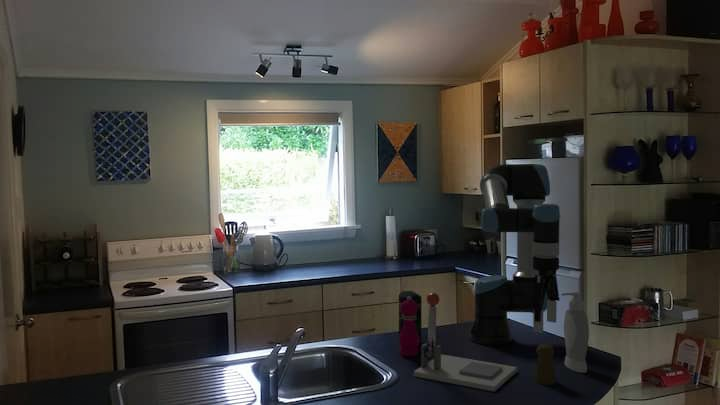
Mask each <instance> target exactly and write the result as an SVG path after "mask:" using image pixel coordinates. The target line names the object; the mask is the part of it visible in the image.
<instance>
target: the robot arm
mask: <svg viewBox="0 0 720 405" xmlns="http://www.w3.org/2000/svg"><path fill="white" fill-rule="evenodd" d="M479 188H480V192H481V194H482V195H483V197H484V203H485V208H482V210H481V214H480V216H481V218H480V220H481V222H480V223H481V225H480V226H481V230H482V231H483V232H484V233H485V232H486V233H516V270H515V272H514V273H513V274H512V279H508V277H507V276H506V275H498V274H497V275H496V274H495V275H494V274H493V275H487V276H483V277H479V278H477V280H476V281H475V282H474V291H473V293H474V319H473V322H472V325H471V328H470V330H469V340H470V341H472V342H474V343H477V344H481V345H487V346H488V345H490V346H501V345H506V344H509V343H511V342H512V337H513V336H512V332H511V329H510V326H509V323H508V313H532V314H533V315H532V316H533V320H532V321H533V323H532V324H533V326H532V328H533V330H532V332H533V333H540V334H543V333H544V312H546V322H548V323H557V308H558V307H557V304H558V303H557V301H560V294H559V288H558V280H557V279H558V278H557V271H558V270H559V269H560V258H559V255H560V219H561V214H560V206H559V205H558V204H555V203H545V202H546V197H548V196H549V195H551V184H550V177H549V172H548V169H547V167H546V166H545V165H544V164H540V163H514V164H513V163H512V164H511V163H510V164H509V163H504V164H499V165H496V166H493V167H491V168H490V169H488V170H487V171H486V172H485V173H484V174H483V176H482V177H481V179H480V182H479ZM508 196H509V197H511V196H512V202H513V203H514V204H515V205H516V207H514V208H513V207H510V204H509V203H510V202H509V200H508Z"/></svg>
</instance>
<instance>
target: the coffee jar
mask: <svg viewBox="0 0 720 405" xmlns="http://www.w3.org/2000/svg"><path fill="white" fill-rule="evenodd" d="M408 296H411V297H412V301H414V302H416V303H417V305H418V311H417V312H416V315H417V316H416V319H415V327H416V330H417V332H418V335H419V338H420V343H419V345H420V344H421V343H422V306H423V305H422V302H423V301H422V296H421V295H420V294H418V293H417V292H414V290H403V291H402V292H400V293H399V294H398V338H399V337H400V334H401V332H402V329H403V319H402V314H403V313H402V312H401V309H400V308H401V304H402V303H403V302H404V301H407V297H408Z"/></svg>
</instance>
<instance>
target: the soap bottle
mask: <svg viewBox="0 0 720 405" xmlns="http://www.w3.org/2000/svg"><path fill="white" fill-rule="evenodd" d="M581 294H582V293H581V292H579V291H573V292H565V293H564V292H563V293H561V295H562V296H563V297H564V296H572V298H571V300H569V303H568V307H569V308H568V309H567V310H565V315H564V321H563V334H564V343H565V352H566V355H565V358H564V366H565V367H566V368H568V370H571V371H574V372H576V373H581V374H585V373H587V372H588V366H587V365H588V364H587V361H586V356H587V351H588V345H589V339H590V326H589V325H590V324H589V319H588V315H587V313H586V312H585V308H584V307H585V302H584V301H582V298H581Z"/></svg>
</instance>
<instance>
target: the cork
mask: <svg viewBox="0 0 720 405" xmlns="http://www.w3.org/2000/svg"><path fill="white" fill-rule="evenodd" d="M536 354H537V363H536V369H535V370H536V371H535V375H534V376H535V377H534V382H535V383H537V384H539V385H545V386H546V385H547V386H550V385H555V384H556V374H555V368H554V360H553V359H554V358H553V357H554V355H555V348H554V346H553V345H550V344H547V343H546V344H543V343H542V344H539V345H537V346H536Z"/></svg>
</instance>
